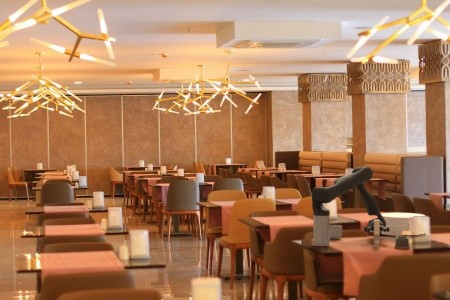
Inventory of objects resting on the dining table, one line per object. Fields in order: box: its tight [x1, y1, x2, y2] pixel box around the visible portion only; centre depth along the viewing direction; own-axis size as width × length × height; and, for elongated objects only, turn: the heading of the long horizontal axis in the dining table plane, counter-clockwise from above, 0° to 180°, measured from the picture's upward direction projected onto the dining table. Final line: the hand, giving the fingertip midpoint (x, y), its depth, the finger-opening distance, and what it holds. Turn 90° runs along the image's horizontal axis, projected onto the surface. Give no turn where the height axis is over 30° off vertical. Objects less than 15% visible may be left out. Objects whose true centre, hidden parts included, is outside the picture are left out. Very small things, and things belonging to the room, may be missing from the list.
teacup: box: [330, 224, 343, 240], centre depth 545 cm, size 14×11×8 cm
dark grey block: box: [394, 236, 411, 250], centre depth 508 cm, size 10×8×6 cm
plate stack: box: [380, 212, 426, 237], centre depth 571 cm, size 28×28×12 cm
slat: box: [373, 220, 381, 248], centre depth 511 cm, size 5×3×15 cm, turn 170°
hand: (376, 230), depth 516 cm, fingers open, 8 cm apart
